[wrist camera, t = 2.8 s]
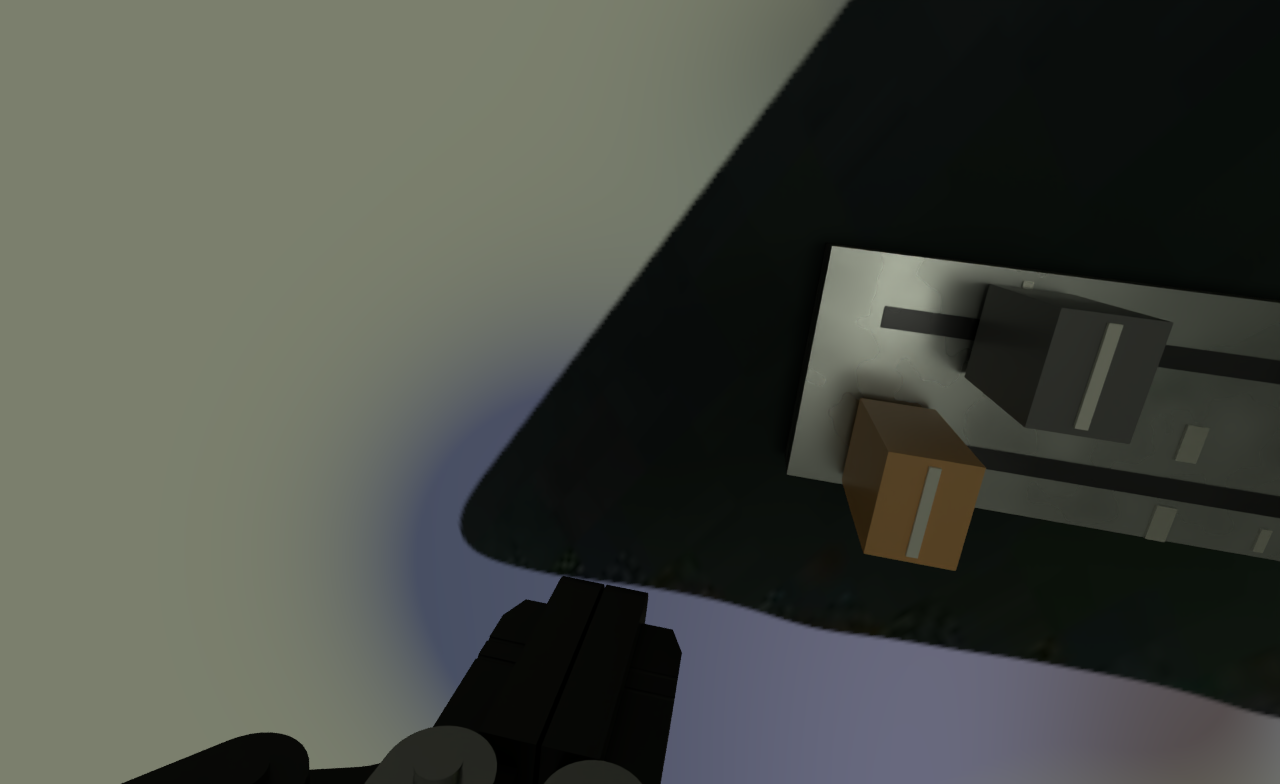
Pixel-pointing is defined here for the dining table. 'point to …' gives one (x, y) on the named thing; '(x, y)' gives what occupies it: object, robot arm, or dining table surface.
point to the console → (1041, 460)
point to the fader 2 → (1066, 361)
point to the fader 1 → (910, 484)
